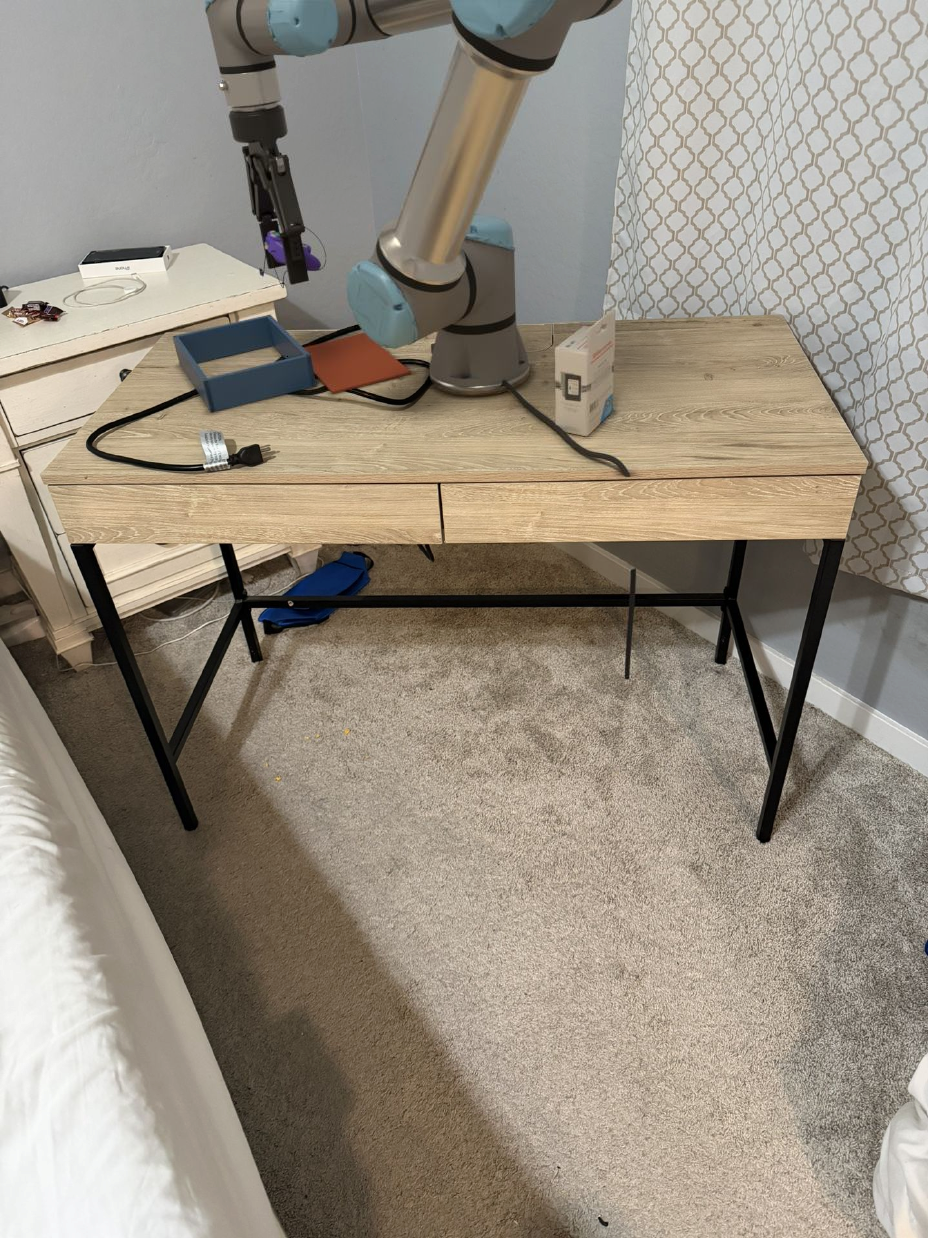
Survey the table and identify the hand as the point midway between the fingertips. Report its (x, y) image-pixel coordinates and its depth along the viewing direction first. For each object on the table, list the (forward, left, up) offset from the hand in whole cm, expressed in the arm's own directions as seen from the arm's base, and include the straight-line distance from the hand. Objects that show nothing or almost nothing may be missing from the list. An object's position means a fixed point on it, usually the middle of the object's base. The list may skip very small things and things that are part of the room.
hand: (288, 274), depth 138 cm
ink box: (-40, -27, -15) cm, 51 cm away
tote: (+4, +9, -15) cm, 18 cm away
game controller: (0, 0, -1) cm, 1 cm away
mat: (-1, -7, -15) cm, 17 cm away
